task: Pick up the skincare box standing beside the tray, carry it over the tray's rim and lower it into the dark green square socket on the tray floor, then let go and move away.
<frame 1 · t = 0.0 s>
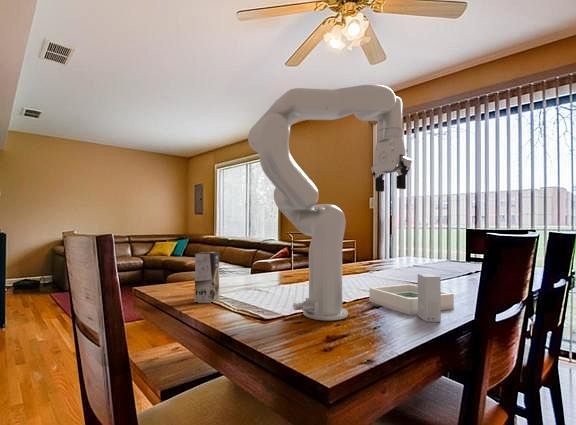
hand: (390, 190, 107), 37 cm above the table, tool pointing down, fingers open, 9 cm apart
skincare box: (428, 319, 93), on the table
coffee box: (207, 300, 114), on the table
tray: (409, 304, 108), on the table
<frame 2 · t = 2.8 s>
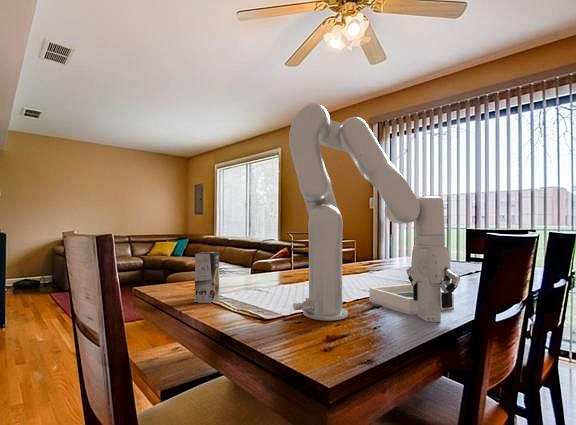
hand: (432, 303, 93), 4 cm above the table, tool pointing down, fingers open, 9 cm apart
nothing on the table moved.
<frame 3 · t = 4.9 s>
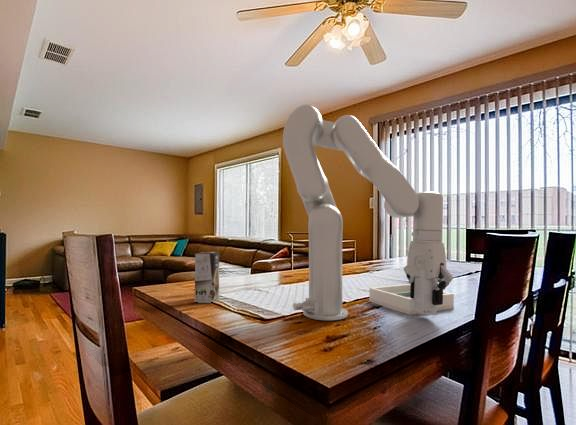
hand: (425, 300, 93), 5 cm above the table, tool pointing down, fingers closed on skincare box, 7 cm apart
skincare box: (424, 312, 93), point 2 cm above the table, touching gripper
everything else where it was.
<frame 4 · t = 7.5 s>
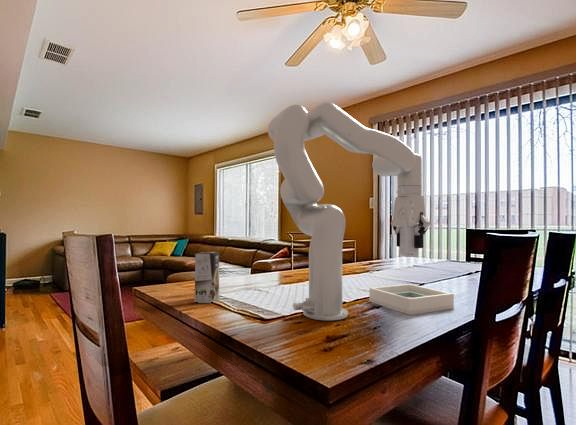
hand: (409, 246, 109), 19 cm above the table, tool pointing down, fingers closed on skincare box, 7 cm apart
skincare box: (408, 256, 109), point 15 cm above the table, touching gripper
everything else where it was.
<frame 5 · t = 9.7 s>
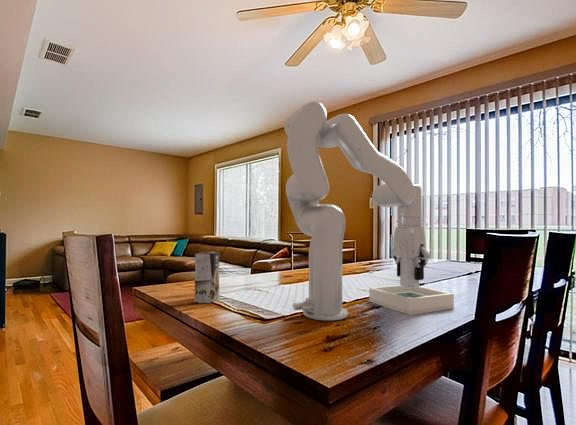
hand: (410, 277, 109), 9 cm above the table, tool pointing down, fingers closed on skincare box, 7 cm apart
skincare box: (409, 287, 108), point 5 cm above the table, touching gripper
everything else where it was.
when the fingers open (5 cm above the table, at t = 11.6 s): skincare box stays where it is, resting on tray.
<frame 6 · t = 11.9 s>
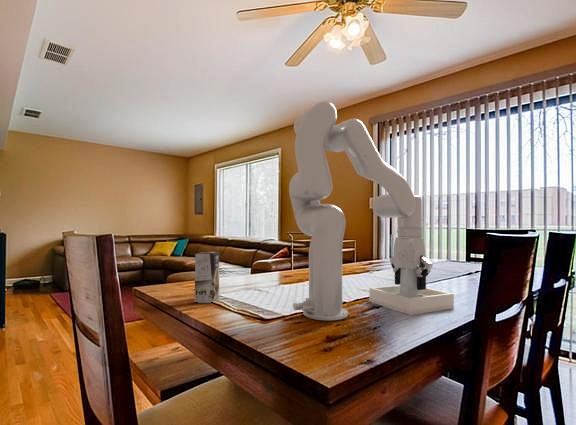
hand: (409, 286, 108), 6 cm above the table, tool pointing down, fingers open, 9 cm apart
skincare box: (408, 301, 108), point 1 cm above the table, touching tray
everything else where it was.
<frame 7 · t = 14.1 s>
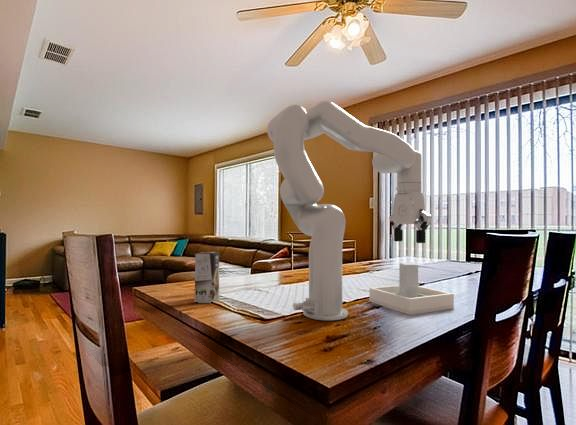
hand: (409, 242, 109), 20 cm above the table, tool pointing down, fingers open, 9 cm apart
nothing on the table moved.
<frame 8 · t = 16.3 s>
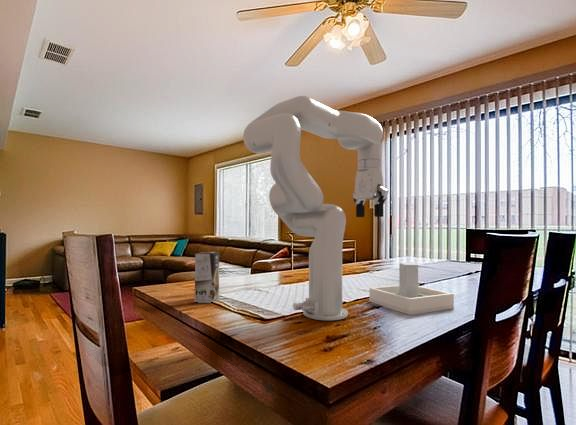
hand: (369, 216, 113), 28 cm above the table, tool pointing down, fingers open, 9 cm apart
nothing on the table moved.
at the end: skincare box inside the target area on the tray (0.5 cm from its centre), point 1.0 cm above the tray's base; skincare box tilted 0°; the gripper is holding nothing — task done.
